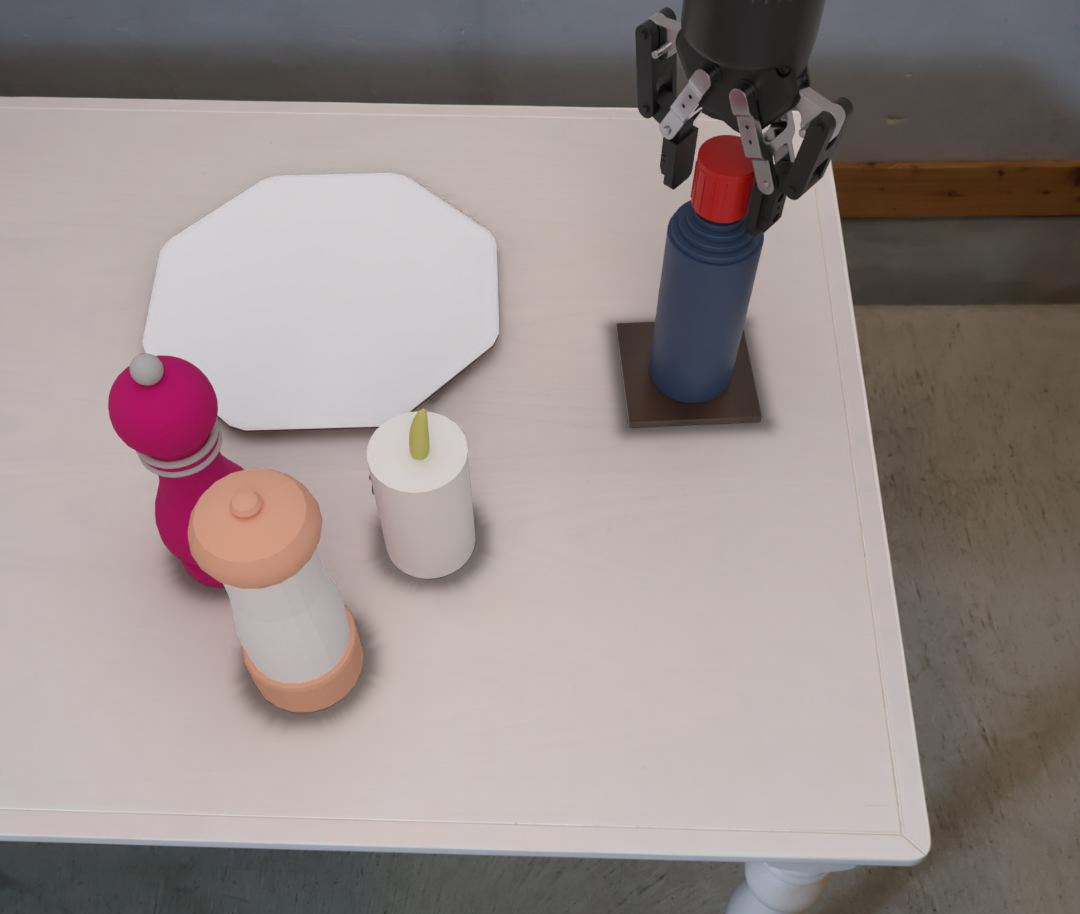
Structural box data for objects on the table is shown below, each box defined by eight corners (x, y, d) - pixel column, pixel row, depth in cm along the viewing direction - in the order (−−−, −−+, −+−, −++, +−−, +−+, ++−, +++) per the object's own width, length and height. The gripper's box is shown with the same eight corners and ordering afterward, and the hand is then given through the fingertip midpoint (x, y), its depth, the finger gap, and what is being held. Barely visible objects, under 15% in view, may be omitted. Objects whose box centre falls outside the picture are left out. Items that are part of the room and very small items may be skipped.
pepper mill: (159, 536, 78) (54, 344, 61) (252, 489, 80) (176, 291, 63) (202, 612, 75) (103, 432, 58) (298, 562, 77) (231, 373, 60)
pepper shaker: (326, 731, 70) (263, 582, 54) (230, 684, 72) (142, 526, 56) (384, 639, 74) (342, 472, 57) (291, 596, 75) (225, 422, 59)
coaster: (740, 322, 89) (741, 317, 88) (760, 421, 83) (762, 417, 83) (615, 328, 88) (616, 322, 88) (628, 428, 83) (629, 423, 83)
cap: (695, 225, 70) (702, 178, 67) (686, 183, 72) (693, 135, 69) (757, 222, 70) (767, 175, 67) (746, 180, 72) (755, 132, 69)
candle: (400, 493, 80) (374, 354, 67) (486, 513, 79) (477, 376, 66) (369, 565, 77) (337, 434, 64) (459, 588, 76) (444, 459, 63)
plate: (129, 445, 82) (123, 432, 81) (178, 190, 96) (173, 176, 95) (502, 434, 83) (501, 421, 81) (494, 182, 97) (494, 169, 96)
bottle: (725, 337, 87) (770, 129, 70) (737, 401, 84) (788, 198, 67) (644, 340, 87) (670, 132, 70) (653, 405, 83) (683, 201, 67)
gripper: (921, -27, 56) (842, 226, 71) (696, -129, 61) (665, 127, 76) (838, 40, 53) (773, 290, 68) (609, -73, 58) (594, 182, 73)
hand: (716, 203), depth 72 cm, fingers open, 6 cm apart
